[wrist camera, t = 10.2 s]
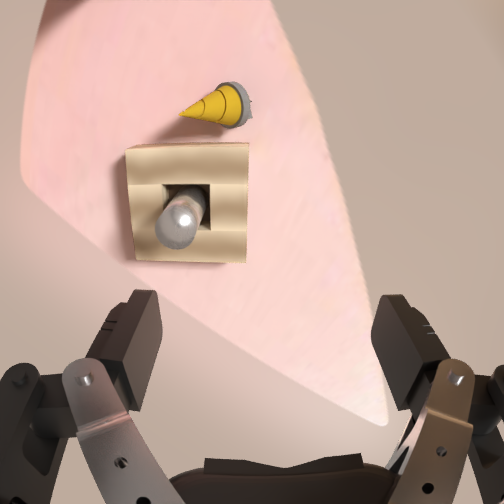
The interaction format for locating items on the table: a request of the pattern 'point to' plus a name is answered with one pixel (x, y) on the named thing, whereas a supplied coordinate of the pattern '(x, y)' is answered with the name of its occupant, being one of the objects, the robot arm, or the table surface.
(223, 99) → the drill bit
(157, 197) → the socket block
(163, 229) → the pin
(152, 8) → the table surface
